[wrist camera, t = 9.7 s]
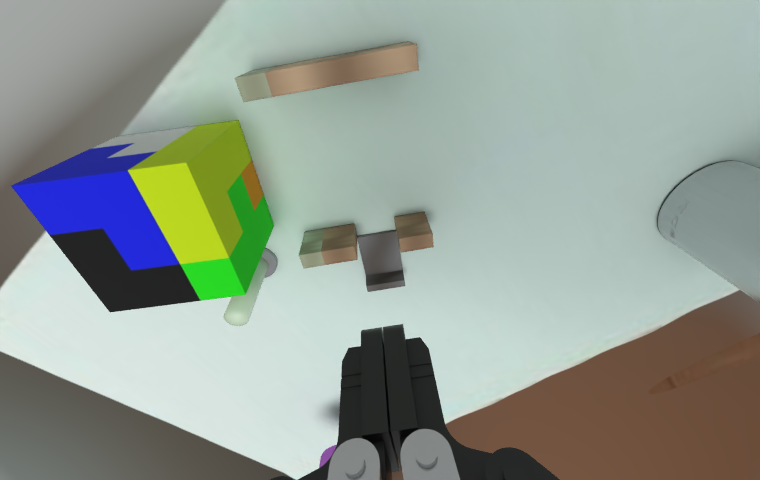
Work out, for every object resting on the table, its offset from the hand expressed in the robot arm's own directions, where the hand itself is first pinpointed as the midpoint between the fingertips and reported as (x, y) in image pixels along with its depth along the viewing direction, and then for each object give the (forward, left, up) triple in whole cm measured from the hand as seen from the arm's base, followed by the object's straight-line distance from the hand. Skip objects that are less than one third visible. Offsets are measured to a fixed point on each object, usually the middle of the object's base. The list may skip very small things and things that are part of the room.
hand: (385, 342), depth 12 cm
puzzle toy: (+15, 0, -21) cm, 26 cm away
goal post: (+13, +9, -21) cm, 26 cm away
